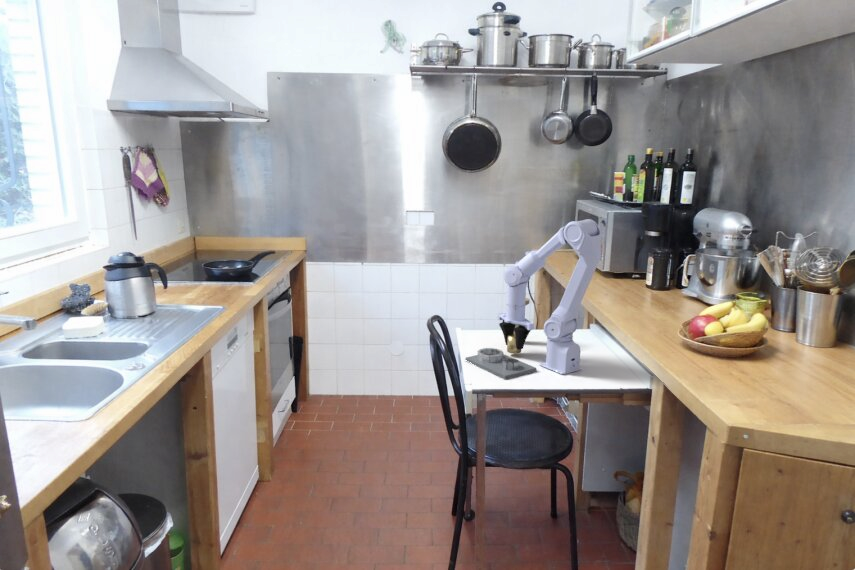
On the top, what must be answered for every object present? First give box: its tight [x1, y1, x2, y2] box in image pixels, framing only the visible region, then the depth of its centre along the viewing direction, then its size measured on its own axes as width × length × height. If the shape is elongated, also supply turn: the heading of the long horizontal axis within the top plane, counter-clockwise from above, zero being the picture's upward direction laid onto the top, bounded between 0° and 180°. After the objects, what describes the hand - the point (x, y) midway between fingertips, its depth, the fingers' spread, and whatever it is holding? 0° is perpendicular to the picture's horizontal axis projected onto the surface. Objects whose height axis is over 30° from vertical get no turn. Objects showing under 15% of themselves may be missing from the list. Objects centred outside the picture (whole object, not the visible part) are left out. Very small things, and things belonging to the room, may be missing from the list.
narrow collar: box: [502, 357, 520, 370], centre depth 164 cm, size 5×5×2 cm
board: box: [465, 354, 537, 380], centre depth 168 cm, size 18×12×1 cm, turn 34°
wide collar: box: [476, 347, 505, 363], centre depth 172 cm, size 8×8×2 cm
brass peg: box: [506, 334, 522, 355], centre depth 177 cm, size 4×4×5 cm
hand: (514, 346), depth 177 cm, fingers closed on brass peg, 4 cm apart
